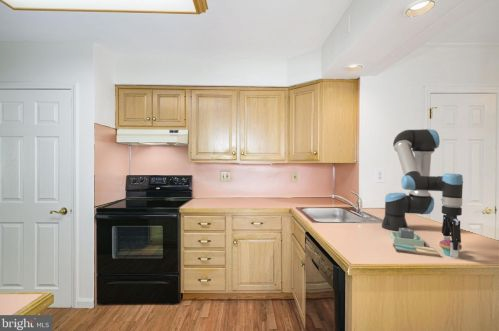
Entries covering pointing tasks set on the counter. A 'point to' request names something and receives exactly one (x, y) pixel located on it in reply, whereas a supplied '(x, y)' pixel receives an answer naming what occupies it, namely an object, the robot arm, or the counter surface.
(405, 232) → the die
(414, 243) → the tray
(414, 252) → the board
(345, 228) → the counter surface
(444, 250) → the cupcake
